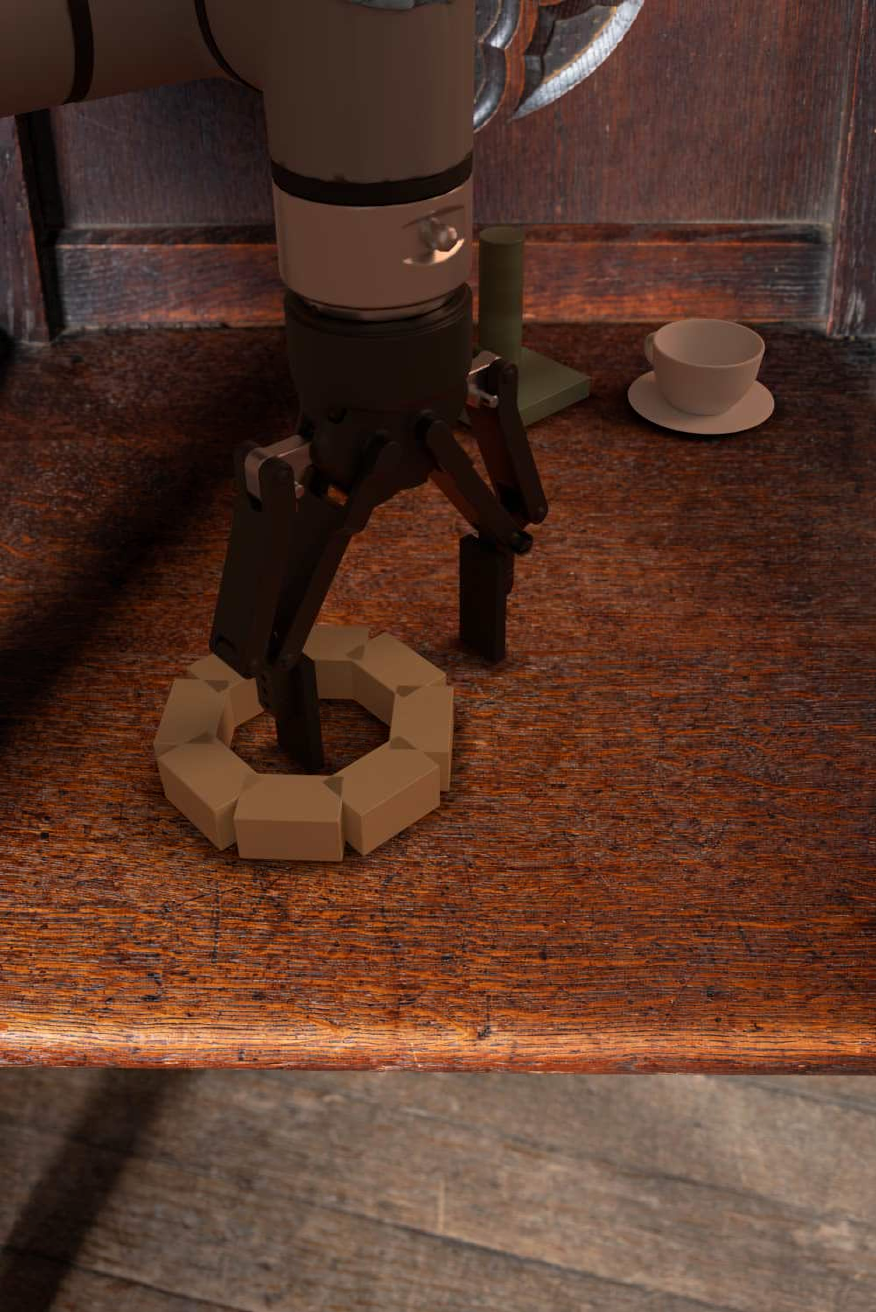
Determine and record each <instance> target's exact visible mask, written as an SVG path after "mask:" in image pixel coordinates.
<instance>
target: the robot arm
mask: <svg viewBox="0 0 876 1312" xmlns="http://www.w3.org/2000/svg"><path fill="white" fill-rule="evenodd" d="M476 1H477V0H0V119H4V118H7V117H13V116H17V115H21V114H27V113H32V112H35V111H39V110H45V109H48V108H49V109H50V108H54V107H57V106H59V107H61V106H65V105H69V104H81V103H87V102H91V101H96V100H100V99H105V98H110V97H116V96H121V95H127V94H131V93H136V92H141V91H146V90H151V89H155V88H160V87H166V86H170V85H175V84H181V83H186V82H190V81H195V80H200V79H206V78H222V79H225V80H228V81H230V82H233V83H235V84H238V85H239V86H242V87H244V88H247V89H249V90H251V91H254V92H255V93H256V92H257V93H259V94H262V95H263V103H264V105H263V106H264V113H265V114H264V115H265V121H266V132H267V140H268V141H267V142H268V149H269V152H268V153H269V155H270V156H269V161H270V174H271V185H272V195H273V210H274V220H275V235H276V247H277V260H278V261H277V262H278V273H279V276H280V278H281V280H282V283H283V284H284V285H285V286H286V287H288V288H287V291H286V292H285V293H284V296H283V304H282V305H283V314H284V324H285V325H284V326H285V335H286V336H285V337H286V345H287V346H286V347H287V356H288V367H289V372H290V376H291V379H292V381H293V385H294V388H295V390H296V394H297V397H298V401H299V411H298V416H297V420H296V423H295V427H294V428H293V434H292V436H290V437H288V438H285V439H282V440H281V441H278V442H276V443H273V444H270V445H268V446H265V447H263V446H261V445H260V444H258V443H257V442H255V441H252V440H244V441H242V442H240V444H238V446H237V447H236V448H235V451H234V453H233V466H234V468H233V469H234V474H235V482H236V483H235V484H236V490H237V491H236V492H237V498H236V504H235V507H234V513H233V518H232V523H231V529H230V533H229V538H228V544H227V550H226V553H225V558H224V564H223V568H222V574H221V579H220V585H219V590H218V594H217V598H216V599H217V600H216V604H215V610H214V614H213V620H212V625H211V630H210V635H209V639H208V649H209V651H210V652H211V654H215V655H216V656H217V657H218V658H219V659H221V660H222V661H223V662H224V663H225V664H227V665H228V666H229V667H230V668H232V669H233V670H234V671H235V672H236V673H238V674H239V675H240V676H241V677H243V678H244V679H246V680H250V679H253V678H255V680H256V686H257V693H258V702H259V704H260V705H261V707H262V708H263V709H264V710H265V711H264V712H266V713H267V714H268V715H270V716H271V717H272V718H274V722H275V730H276V739H277V746H279V747H280V748H281V750H283V751H284V752H286V753H287V754H288V755H289V756H290V757H291V758H293V759H294V760H295V761H296V762H297V763H298V764H300V765H301V766H302V767H303V768H304V769H305V770H307V771H308V772H309V773H310V775H314V774H316V773H317V772H319V771H320V770H322V769H323V768H325V767H326V765H325V753H324V744H323V732H322V724H321V723H322V722H321V712H320V701H319V698H318V690H317V680H316V669H315V661H314V660H312V659H311V658H310V657H309V656H307V655H306V654H305V653H303V652H302V650H303V648H304V646H305V643H306V641H307V639H308V636H309V634H310V632H311V629H312V627H313V625H315V622H316V620H317V617H318V616H319V613H320V610H321V609H322V606H323V604H324V602H325V599H326V597H327V595H328V592H329V590H330V588H331V585H332V583H333V581H334V580H335V579H334V578H335V576H336V574H337V572H338V569H339V567H340V565H341V563H342V560H343V558H344V556H345V553H346V551H347V548H348V546H349V545H350V542H351V540H352V538H353V537H354V536H355V535H359V534H361V533H362V532H364V530H365V529H366V527H367V525H368V522H369V520H370V517H371V515H372V513H373V511H374V509H375V507H378V506H380V505H382V504H384V503H386V502H388V501H390V500H391V499H392V498H394V497H395V496H396V495H397V494H398V493H400V492H401V491H405V490H409V489H415V488H418V487H420V486H422V485H424V484H426V483H428V482H429V479H430V480H431V481H432V482H433V483H434V484H435V485H436V487H437V488H438V489H439V490H440V491H441V493H442V494H443V495H444V497H445V498H447V500H448V501H449V502H450V503H451V504H452V506H453V507H454V508H455V509H456V510H457V511H458V513H459V514H460V515H461V516H462V518H463V519H464V520H465V521H466V522H467V523H468V525H469V526H470V527H471V528H472V529H473V530H474V531H476V532H477V536H476V535H474V534H472V533H468V534H466V535H464V536H462V537H460V538H459V539H458V545H459V546H458V554H459V555H458V558H459V559H458V561H459V562H458V565H459V566H458V569H459V570H458V571H459V574H458V575H459V576H458V578H459V579H458V581H459V582H458V583H459V585H458V589H459V592H458V595H459V597H458V598H459V599H458V600H459V602H458V604H459V605H458V606H459V608H458V609H459V610H458V612H459V613H458V614H459V615H458V616H459V620H458V621H459V622H458V623H459V631H458V632H459V636H458V637H459V642H461V643H462V644H464V645H466V646H467V647H468V648H470V649H471V650H473V651H475V653H477V654H479V656H481V657H483V658H485V659H486V660H487V661H489V662H490V663H492V664H494V665H496V664H498V663H499V662H501V661H503V660H505V659H506V640H507V639H506V635H507V633H506V632H507V601H508V600H507V598H508V596H509V595H510V594H511V593H512V590H513V587H514V585H515V584H514V583H515V575H514V574H515V555H517V556H518V557H524V556H525V555H527V554H528V553H529V552H530V551H531V549H532V548H533V546H534V545H533V544H534V537H533V534H531V533H529V532H527V531H525V530H524V529H525V528H526V527H527V526H528V525H529V524H532V525H535V526H537V525H540V524H542V523H543V522H544V521H545V519H547V516H548V514H549V504H548V500H547V498H546V494H545V490H544V488H543V485H542V481H541V477H540V475H539V472H538V468H537V465H536V462H535V458H534V456H533V453H532V448H531V446H530V441H529V438H528V435H527V433H526V429H525V427H524V425H523V422H522V419H521V416H520V412H519V409H518V406H517V398H518V367H517V366H516V364H514V363H512V362H510V361H508V360H506V359H503V358H502V357H500V356H497V355H495V354H493V353H491V352H489V351H486V350H484V349H482V348H480V347H478V345H474V344H473V343H474V340H473V338H474V329H473V328H474V295H473V290H472V289H471V287H470V285H469V284H468V283H467V282H466V281H467V280H468V278H469V277H470V276H471V271H472V268H473V243H474V241H473V235H474V234H473V230H474V227H473V225H474V223H473V221H474V220H473V218H474V217H473V214H474V211H473V209H474V206H473V205H474V203H473V201H474V200H473V199H474V168H473V150H474V129H475V128H474V127H475V125H474V122H475V64H476V63H475V59H476V57H475V55H476V54H475V53H476V3H477V2H476ZM464 406H465V410H466V413H467V416H468V419H469V422H470V424H471V426H470V427H471V431H472V433H473V435H474V439H475V441H476V444H477V447H478V450H479V453H480V455H481V458H482V461H483V464H484V467H485V470H486V472H487V475H488V478H489V481H490V484H491V487H492V489H491V488H490V487H489V486H488V485H487V483H486V482H485V481H484V479H483V478H482V477H481V475H480V474H479V473H478V472H477V470H476V469H475V468H474V460H472V458H471V457H470V455H468V453H467V452H466V451H465V450H464V448H463V447H462V445H461V444H460V443H459V442H458V441H457V439H456V438H455V435H454V429H455V427H456V426H457V423H458V421H459V420H458V419H459V417H460V415H461V413H462V410H463V408H464ZM330 486H331V487H332V488H333V489H334V490H335V491H336V492H338V493H340V494H341V495H343V496H345V497H346V500H345V503H344V504H342V503H340V502H338V501H337V500H335V499H334V498H332V497H331V496H330V495H329V487H330ZM492 490H493V491H492Z"/></svg>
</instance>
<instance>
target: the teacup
mask: <svg viewBox="0 0 876 1312" xmlns="http://www.w3.org/2000/svg"><path fill="white" fill-rule="evenodd" d="M765 350H766V346H765V342H764V340H763V339H762V337H761V336H760V335H759V334H758V333H757V332H755V331H754V330H752V329H751V328H749V327H747V326H744V325H741V324H739V323H736V322H732V321H729V320H723V319H717V318H715V319H714V318H686V319H680V320H676V321H672V322H670V323H667V324H665V325H663V326H662V327H659V328H658V330H657V331H653V332H650V333H649V334H648V335H647V336H646V337H645V338H644V342H643V353H644V356H645V358H646V360H647V362H648V363H649V364H650V365H651V366H652V367H653V370H650V371H648V372H646V373H644V374H642V375H640V376H639V377H637V379H634V381H633V382H632V383H631V385H629V388H628V391H627V398H628V402H629V404H630V405H631V407H632V408H633V410H634V411H636V412H637V413H638V415H640V416H641V417H643V418H644V419H645V420H648V421H649V422H652V423H654V424H657V425H658V426H661V427H665V428H667V429H671V430H674V431H678V432H679V431H680V432H684V433H692V434H700V435H701V434H702V435H720V434H730V433H737V432H741V431H744V430H748V429H751V428H754V427H757V426H759V425H760V424H762V423H764V422H765V421H766V420H767V419H768V418H769V417H770V416H771V415H772V414H773V411H774V409H775V399H774V397H773V394H772V393H771V391H769V389H768V388H767V387H765V385H763V384H762V383H760V382H759V381H758V380H756V378H757V376H758V373H759V370H760V366H761V364H762V360H763V357H764V353H765Z"/></svg>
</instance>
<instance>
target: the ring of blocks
mask: <svg viewBox="0 0 876 1312" xmlns="http://www.w3.org/2000/svg"><path fill="white" fill-rule="evenodd" d="M370 636H371V634H370V627H369V626H367V625H366V626H365V625H331V624H329V625H328V624H326V625H325V624H314V625H313V627H312V629H311V632H310V634H309V636H308V639H307V641H306V643H305V646H304V648H303V650H302V652H303V653H305V654H306V655H307V656H309V657H310V658H311V659H312V660H314V661H315V669H316V680H317V690H318V699H319V700H321V699H322V700H323V699H325V700H327V699H328V700H354V701H355V702H357V703H358V704H359V705H360V706H362V707H363V708H364V709H365V710H367V711H368V712H369V713H370V714H372V715H373V716H375V717H376V718H377V719H378V720H379V721H381V722H382V723H383V724H385V725H387V726H388V727H389V737H388V741H386V742H385V743H382V744H381V745H380V746H378V747H377V748H374V749H373V750H372V751H370V752H368V753H366V754H364V755H363V756H361V757H360V758H358V759H357V760H355V761H353V762H352V763H350V764H348V765H347V766H345V767H344V768H342V769H340V770H339V771H337V772H336V773H333V774H332V775H317V774H316V775H314V774H280V773H278V774H277V773H257V772H256V771H255V770H254V769H253V768H252V767H251V766H250V765H249V764H247V763H246V762H245V761H244V760H243V759H242V758H241V757H239V756H238V755H237V754H236V753H235V751H233V750H232V749H230V748H231V744H232V740H233V737H234V732H235V729H236V727H238V726H240V725H243V724H244V723H246V722H247V721H250V720H251V719H253V718H255V717H257V716H258V715H260V714H262V713H263V712H266V711H265V710H264V709H263V708H262V707H261V705H260V704H259V702H258V693H257V686H256V680H255V678H253V679H250V680H246V679H244V678H243V677H241V676H240V675H239V674H238V673H236V672H235V671H234V670H233V669H232V668H230V667H229V666H228V665H227V664H225V663H224V662H223V661H222V660H221V659H219V658H218V657H217V656H216V655H215V654H213V653H211V654H209V655H207V656H205V657H203V658H201V659H199V660H197V661H195V662H193V663H192V664H190V665H187V666H186V669H185V670H186V675H187V678H174V679H173V682H172V685H171V688H170V690H169V691H170V692H169V695H168V696H167V700H166V703H165V706H164V708H163V712H162V716H161V719H160V720H159V721H160V722H159V725H158V727H157V731H156V734H155V737H154V739H153V743H152V745H153V750H154V755H155V758H156V763H157V768H158V772H159V777H160V782H161V783H162V787H163V791H164V796H165V798H166V799H167V800H168V801H169V802H170V803H171V804H172V805H173V806H174V807H175V808H176V809H177V810H178V811H179V812H180V813H181V814H182V815H183V816H184V817H186V819H187V820H188V821H189V822H190V823H192V824H193V825H194V826H195V827H196V828H197V830H199V832H201V833H202V834H203V836H204V837H206V838H207V839H208V840H209V841H210V842H211V843H212V844H213V845H214V846H215V847H216V848H217V849H218V850H219V851H223V850H226V849H227V848H228V847H231V846H232V845H234V844H236V845H237V851H238V857H239V858H240V859H247V860H248V859H249V860H250V859H252V860H278V861H279V860H280V861H281V860H283V861H306V862H307V861H308V862H312V861H313V862H337V863H338V862H342V861H343V859H344V854H345V847H346V842H347V843H348V844H349V845H350V846H351V847H352V848H353V849H354V850H356V852H358V853H359V854H360V855H362V856H363V857H365V856H366V855H367V854H369V853H370V852H373V850H375V849H377V848H379V847H380V846H381V845H383V844H384V843H386V842H387V841H389V840H390V839H392V838H393V837H395V836H396V835H398V834H399V833H401V832H402V831H404V830H405V829H406V828H408V827H410V826H411V825H413V824H414V823H416V822H417V821H419V820H421V819H423V818H424V817H425V816H426V815H428V814H430V813H431V812H433V811H434V810H436V809H437V808H438V807H440V806H441V792H450V788H451V787H450V785H451V771H452V757H453V756H452V755H453V739H454V726H455V725H454V685H453V686H452V685H447V673H446V672H444V671H443V670H441V669H440V668H438V667H437V666H436V665H435V664H433V663H432V662H430V661H429V660H428V659H426V658H425V657H423V656H421V655H420V654H419V653H418V652H416V651H415V650H413V649H412V648H410V647H409V646H407V645H406V644H405V643H404V642H402V641H400V640H399V639H398V638H396V637H395V636H393V635H392V634H390V633H389V632H387V631H384V632H381V633H380V634H378V635H376V636H375V637H373V638H371V637H370Z"/></svg>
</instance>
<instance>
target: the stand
mask: <svg viewBox="0 0 876 1312" xmlns="http://www.w3.org/2000/svg"><path fill="white" fill-rule="evenodd" d="M525 253H526V233H525V232H524V231H523V230H521V229H519V228H517V227H513V226H505V225H503V226H501V225H498V226H491V227H487V228H485V229H483V230H481V231H480V232H479V234H478V283H477V284H478V285H477V286H478V290H477V291H478V295H477V302H478V303H477V346H478V347H480V348H482V349H484V350H486V351H489V352H491V353H493V354H495V355H497V356H500V357H502V358H503V359H506V360H508V361H510V362H512V363H514V364H516V366H517V367H518V398H517V406H518V409H519V412H520V416H521V419H522V422H523V425H524V428H525V427H528V426H529V425H532V424H534V423H536V422H538V421H540V420H542V419H544V418H546V417H548V416H551V415H553V414H555V413H558V412H559V411H561V410H563V409H565V408H567V407H569V406H572V405H574V404H577V403H578V402H580V401H583V400H584V399H586V398H589V397H590V390H591V389H590V388H591V376H589V375H586V374H585V373H583V372H580V371H578V370H576V369H574V368H571V367H569V366H567V365H565V364H563V363H561V362H558V361H556V360H554V359H552V358H549V357H547V356H545V355H543V354H540V353H539V352H536V351H534V350H532V349H530V348H529V347H528V348H527V347H526V346H523V345H522V344H523V320H524V319H523V318H524V317H523V316H524V287H525V286H524V285H525V261H526V260H525V259H526V258H525V257H526V256H525ZM458 421H460V422H462V423H464V424H466V425H468V426H470V427H471V424H470V422H469V419H468V416H467V413H466V410H465V406H464V408H463V410H462V413H461V415H460V417H459V419H458Z"/></svg>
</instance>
